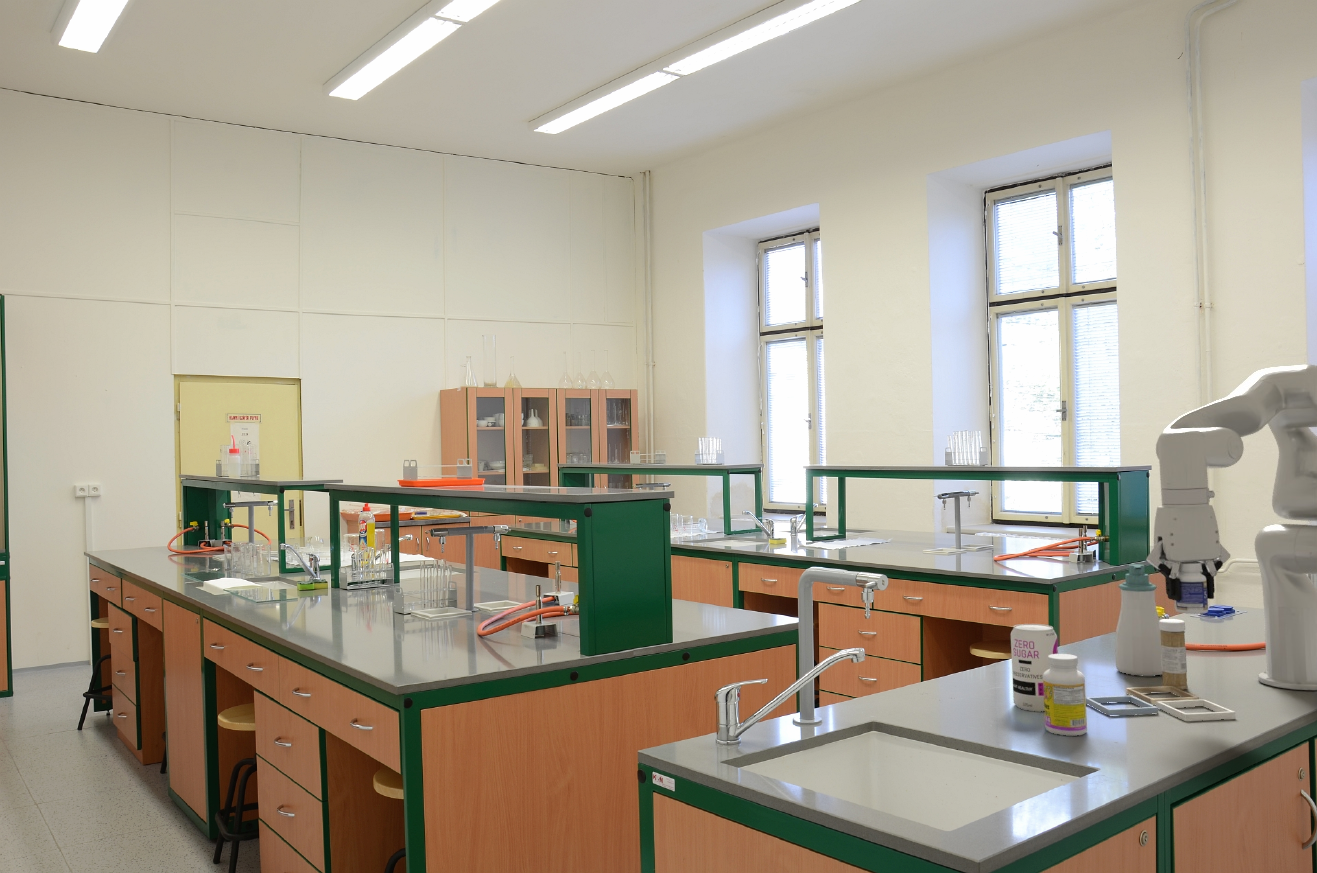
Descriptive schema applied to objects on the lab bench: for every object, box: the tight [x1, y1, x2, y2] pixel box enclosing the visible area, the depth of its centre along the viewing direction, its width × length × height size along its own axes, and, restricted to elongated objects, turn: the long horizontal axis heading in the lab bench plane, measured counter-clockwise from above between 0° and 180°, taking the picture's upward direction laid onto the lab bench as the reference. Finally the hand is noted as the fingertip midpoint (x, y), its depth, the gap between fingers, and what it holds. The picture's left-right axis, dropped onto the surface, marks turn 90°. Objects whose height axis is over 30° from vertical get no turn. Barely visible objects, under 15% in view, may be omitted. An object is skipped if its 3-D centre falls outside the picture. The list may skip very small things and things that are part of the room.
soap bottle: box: [1114, 563, 1163, 677], centre depth 205 cm, size 10×10×23 cm
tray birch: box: [1125, 685, 1200, 705], centre depth 183 cm, size 9×9×1 cm
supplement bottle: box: [1043, 653, 1088, 737], centre depth 164 cm, size 7×7×13 cm
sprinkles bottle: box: [1159, 618, 1189, 691], centre depth 191 cm, size 5×5×14 cm
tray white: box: [1156, 698, 1236, 722], centre depth 172 cm, size 9×9×1 cm
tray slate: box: [1086, 695, 1159, 717], centre depth 177 cm, size 9×9×1 cm
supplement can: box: [1010, 623, 1059, 713], centre depth 180 cm, size 8×8×15 cm
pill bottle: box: [1174, 561, 1209, 615], centre depth 173 cm, size 5×5×9 cm
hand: (1190, 597), depth 173 cm, fingers closed on pill bottle, 5 cm apart
